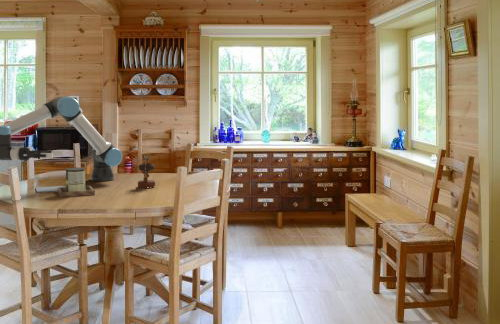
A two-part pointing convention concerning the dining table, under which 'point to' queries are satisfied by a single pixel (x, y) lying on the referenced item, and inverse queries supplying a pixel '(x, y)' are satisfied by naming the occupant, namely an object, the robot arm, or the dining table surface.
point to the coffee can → (75, 179)
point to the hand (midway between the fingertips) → (57, 154)
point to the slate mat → (47, 189)
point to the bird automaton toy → (146, 174)
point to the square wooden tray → (75, 192)
